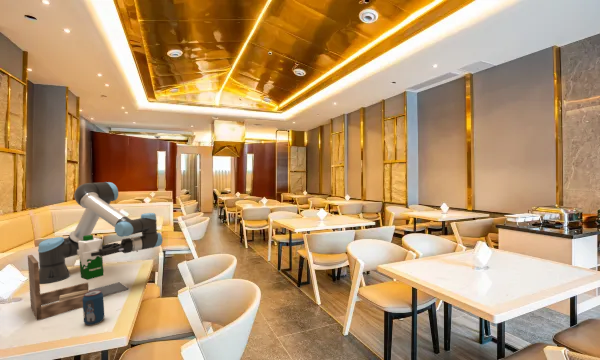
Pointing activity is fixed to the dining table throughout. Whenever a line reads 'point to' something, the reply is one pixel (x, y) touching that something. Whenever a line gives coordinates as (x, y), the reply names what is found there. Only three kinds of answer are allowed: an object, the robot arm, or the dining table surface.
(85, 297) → the soda can
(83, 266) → the soya milk
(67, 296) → the offcut upper
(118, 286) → the mat
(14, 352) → the dining table surface
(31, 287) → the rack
